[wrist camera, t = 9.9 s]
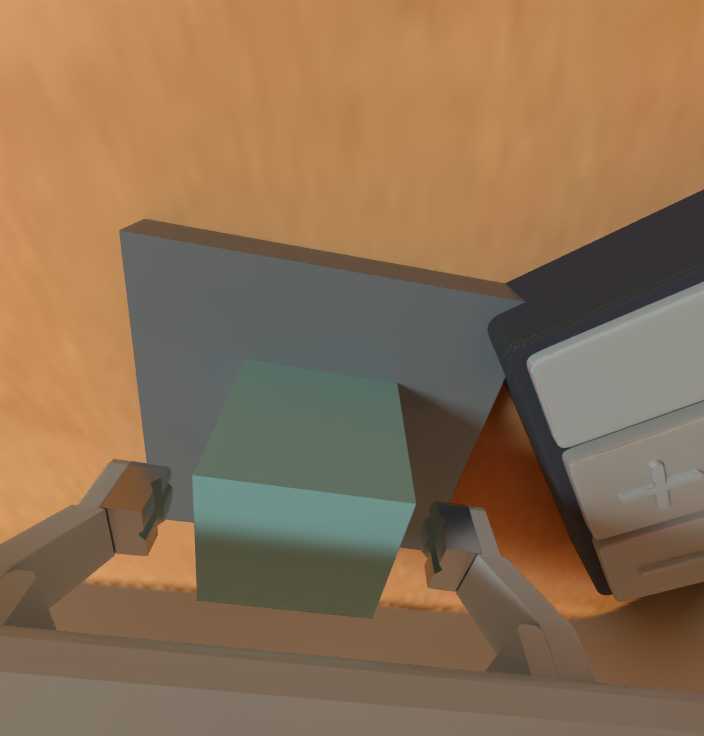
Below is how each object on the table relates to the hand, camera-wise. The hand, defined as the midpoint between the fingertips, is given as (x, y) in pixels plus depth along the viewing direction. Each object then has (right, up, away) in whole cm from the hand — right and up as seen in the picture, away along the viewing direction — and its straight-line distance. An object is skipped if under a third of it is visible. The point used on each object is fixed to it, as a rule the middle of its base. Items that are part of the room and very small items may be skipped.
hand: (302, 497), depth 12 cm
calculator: (+14, +3, +4) cm, 15 cm away
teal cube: (0, +2, +3) cm, 3 cm away
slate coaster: (0, +2, +4) cm, 5 cm away
